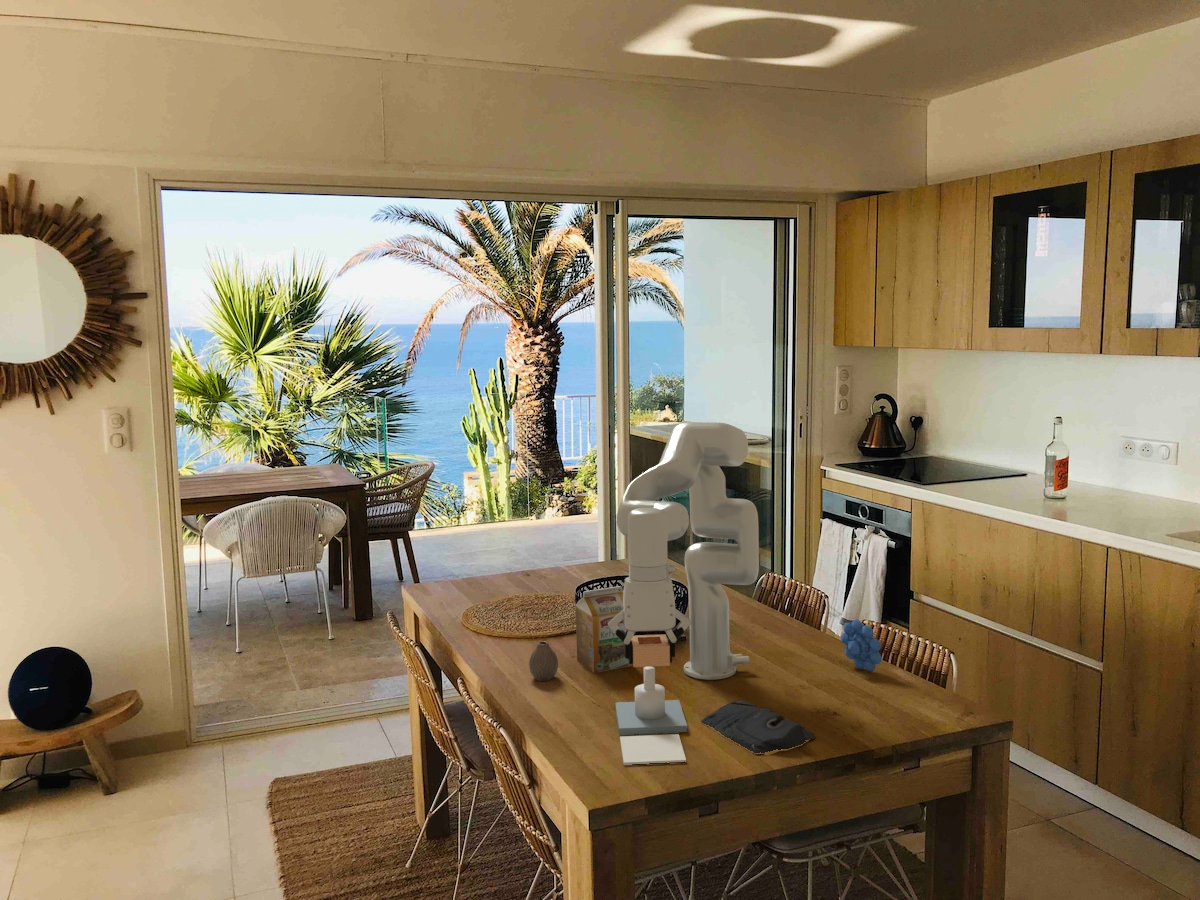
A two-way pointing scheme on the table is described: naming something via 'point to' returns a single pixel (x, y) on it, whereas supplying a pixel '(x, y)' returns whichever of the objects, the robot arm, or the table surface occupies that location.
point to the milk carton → (600, 630)
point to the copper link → (650, 650)
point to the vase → (543, 662)
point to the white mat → (652, 749)
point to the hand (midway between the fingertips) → (650, 660)
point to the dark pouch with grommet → (757, 727)
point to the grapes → (861, 645)
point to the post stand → (650, 710)
